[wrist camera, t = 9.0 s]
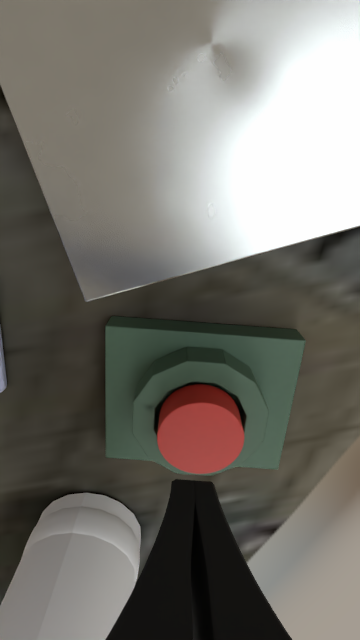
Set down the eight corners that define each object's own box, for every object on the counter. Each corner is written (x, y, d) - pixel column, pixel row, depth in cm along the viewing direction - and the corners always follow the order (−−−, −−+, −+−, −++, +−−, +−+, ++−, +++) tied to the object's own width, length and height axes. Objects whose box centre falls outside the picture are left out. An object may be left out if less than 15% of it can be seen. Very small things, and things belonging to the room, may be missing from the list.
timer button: (157, 448, 20) (154, 471, 18) (161, 380, 18) (159, 399, 17) (233, 453, 20) (238, 477, 18) (244, 386, 18) (250, 405, 17)
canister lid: (413, -361, 8) (434, -413, 7) (432, 202, 12) (446, 203, 11) (-80, -142, 9) (-101, -168, 8) (90, 297, 13) (85, 302, 13)
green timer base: (110, 440, 23) (98, 480, 20) (111, 315, 20) (96, 339, 17) (272, 451, 23) (285, 493, 20) (297, 329, 20) (318, 355, 17)
